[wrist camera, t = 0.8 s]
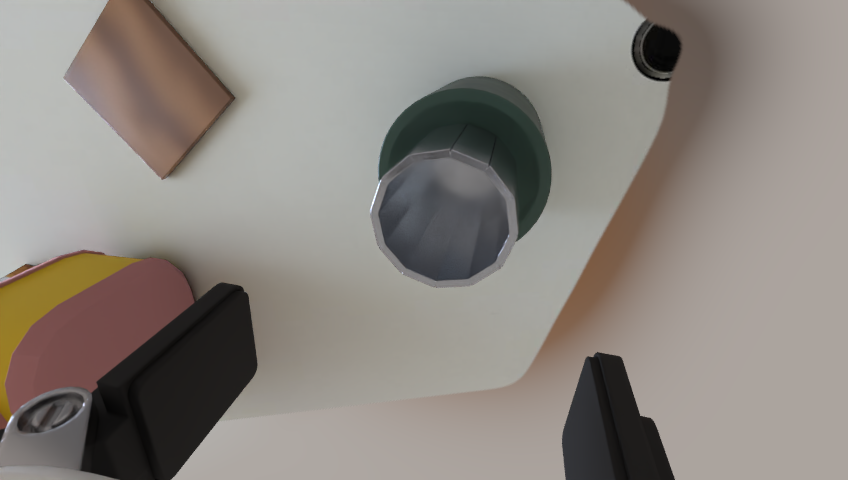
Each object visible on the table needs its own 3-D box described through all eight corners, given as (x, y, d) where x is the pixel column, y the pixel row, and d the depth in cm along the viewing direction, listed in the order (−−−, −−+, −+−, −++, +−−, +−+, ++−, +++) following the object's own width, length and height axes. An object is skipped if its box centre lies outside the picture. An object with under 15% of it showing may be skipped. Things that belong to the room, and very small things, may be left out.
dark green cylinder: (489, 45, 31) (478, 45, 22) (569, 157, 33) (588, 197, 24) (388, 134, 35) (344, 163, 26) (464, 228, 37) (447, 284, 28)
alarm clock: (99, 231, 46) (-151, 342, 29) (188, 240, 44) (-24, 364, 27) (145, 364, 54) (-30, 514, 37) (222, 377, 52) (75, 541, 35)
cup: (471, 98, 23) (454, 117, 17) (540, 191, 25) (547, 240, 18) (385, 169, 26) (343, 208, 20) (452, 249, 27) (432, 309, 21)
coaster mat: (128, -23, 34) (122, -24, 34) (235, 97, 37) (231, 98, 36) (68, 77, 39) (62, 78, 39) (166, 178, 42) (161, 180, 41)
